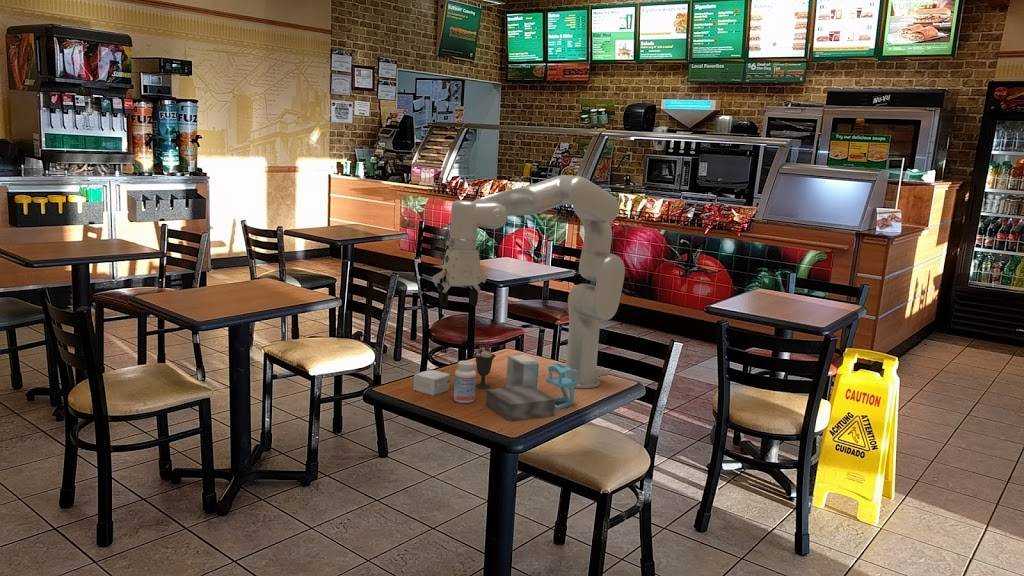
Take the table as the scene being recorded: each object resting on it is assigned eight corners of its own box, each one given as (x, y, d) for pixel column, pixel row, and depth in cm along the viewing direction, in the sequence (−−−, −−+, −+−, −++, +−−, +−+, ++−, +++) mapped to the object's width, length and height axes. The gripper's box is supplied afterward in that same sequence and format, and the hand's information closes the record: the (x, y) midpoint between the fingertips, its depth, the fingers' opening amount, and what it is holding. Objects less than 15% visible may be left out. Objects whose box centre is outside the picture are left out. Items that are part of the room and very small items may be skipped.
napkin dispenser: (520, 386, 241) (522, 353, 239) (536, 395, 232) (539, 361, 231) (505, 387, 238) (507, 354, 237) (521, 397, 230) (523, 363, 228)
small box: (433, 396, 227) (434, 379, 226) (412, 390, 231) (413, 374, 230) (449, 390, 233) (450, 373, 232) (429, 385, 237) (430, 368, 236)
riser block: (528, 401, 228) (529, 385, 227) (553, 416, 216) (555, 399, 215) (485, 406, 221) (486, 389, 220) (509, 422, 209) (510, 404, 208)
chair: (579, 406, 225) (582, 365, 223) (556, 409, 220) (559, 368, 218) (563, 398, 231) (566, 359, 229) (540, 402, 227) (543, 362, 225)
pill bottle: (456, 404, 220) (457, 365, 218) (451, 397, 226) (453, 359, 224) (476, 403, 222) (478, 365, 220) (471, 396, 228) (473, 359, 226)
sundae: (491, 391, 234) (493, 342, 232) (469, 388, 235) (471, 340, 233) (495, 385, 240) (498, 337, 238) (474, 382, 242) (477, 335, 239)
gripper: (442, 246, 209) (438, 309, 212) (495, 247, 219) (491, 306, 222) (428, 243, 215) (424, 304, 218) (481, 243, 225) (476, 301, 228)
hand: (458, 305), depth 220 cm, fingers open, 9 cm apart
